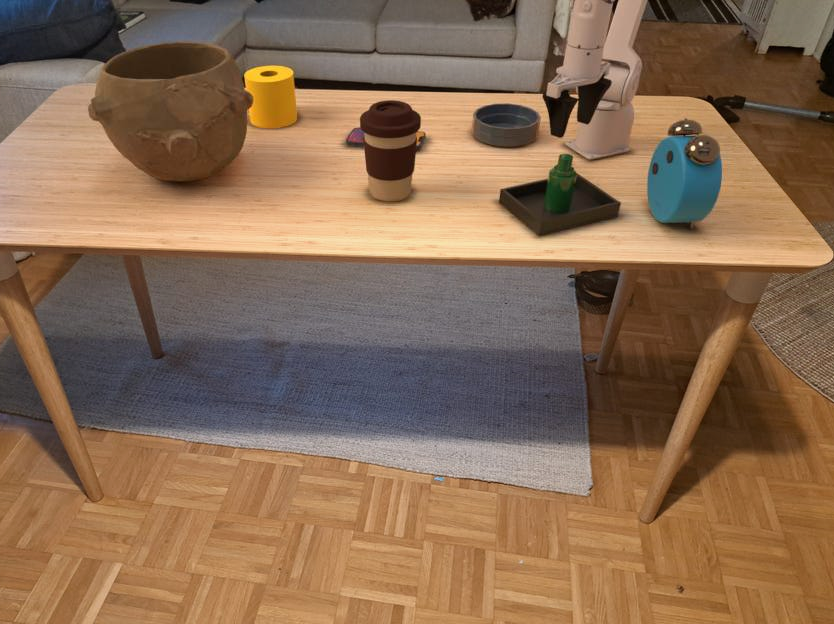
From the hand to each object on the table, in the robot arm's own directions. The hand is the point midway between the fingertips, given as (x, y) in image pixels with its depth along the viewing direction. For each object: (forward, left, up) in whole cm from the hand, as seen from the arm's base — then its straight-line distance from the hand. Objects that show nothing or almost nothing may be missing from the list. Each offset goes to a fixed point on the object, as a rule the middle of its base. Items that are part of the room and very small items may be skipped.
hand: (570, 129), depth 114 cm
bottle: (+6, +8, -9) cm, 14 cm away
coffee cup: (+29, -9, -10) cm, 32 cm away
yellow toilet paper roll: (+38, -50, -10) cm, 64 cm away
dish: (-2, -22, -10) cm, 24 cm away
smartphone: (+21, -29, -10) cm, 37 cm away
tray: (+6, +8, -10) cm, 14 cm away
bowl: (+60, -33, -10) cm, 69 cm away
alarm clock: (-9, +18, -10) cm, 22 cm away
